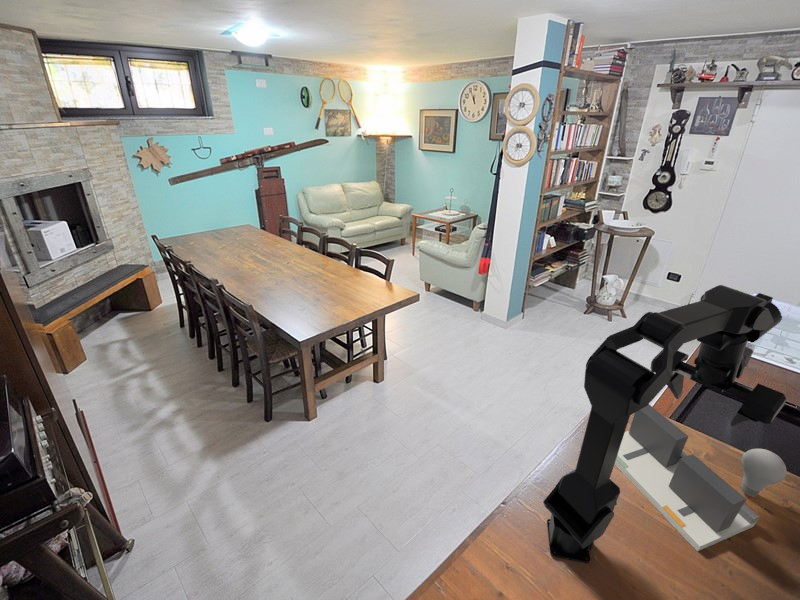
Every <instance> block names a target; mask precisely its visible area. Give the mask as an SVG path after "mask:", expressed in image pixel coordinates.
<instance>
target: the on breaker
mask: <svg viewBox="0 0 800 600" xmlns="http://www.w3.org/2000/svg"><path fill="white" fill-rule="evenodd" d="M628 431H629V434H630V435H631V436H632V437H633V438H634V439H635V440H636V441H637V442H639V443H640V444H641V445H642V446H643V447H644V448H645V449H646V450H647V451H648V452H649V453H650V454H651V455H653V456H654V457H655V458H656V459H657V460H658V461H659V462H660V463H661V464H662V465H663V466H664V467H665V468H666V467H669V466H671V465H674V464H677V462H678V460H679V458H680V455H681V453H682V451H683V450H684V448H685V446H686V443H687V441H688V438H689V435H688V434H687V433H685V432H684V430H682V429H680V428H679V427H678V426H676V425H675V424H674V423H673V422H672V421H670V420H669V419H668V418H667V417H665V416H664V415H663V414H661V413H660V412H659V411H658V410H657V409H655V408H654V407H653V406H652V405H651V404H650V403H649V404H648V406H646V407H644V408H642V409H641V410H639V411H637V412H635V413H633V418H632V420H631V424H630V427H629V430H628ZM683 452H684V451H683Z"/></svg>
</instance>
